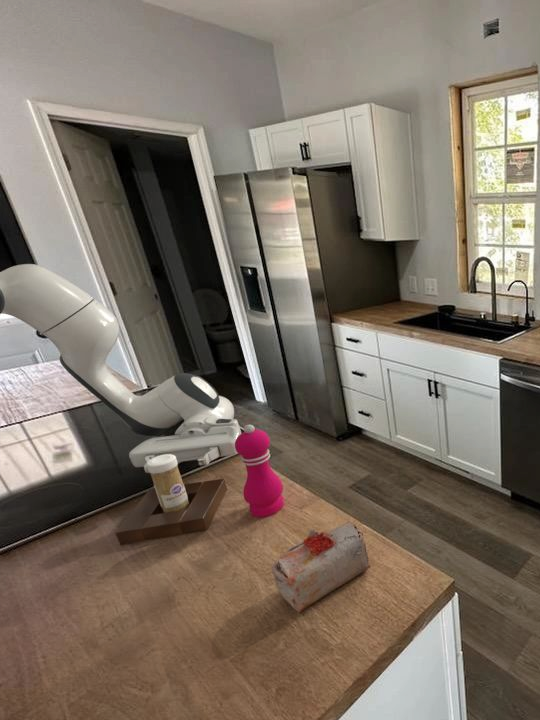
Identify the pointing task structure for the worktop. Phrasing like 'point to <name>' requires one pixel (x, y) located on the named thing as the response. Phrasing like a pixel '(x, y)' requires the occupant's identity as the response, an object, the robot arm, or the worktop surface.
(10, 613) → the worktop surface
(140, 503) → the socket block
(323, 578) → the food item
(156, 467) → the sprinkles bottle
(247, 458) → the pepper mill
